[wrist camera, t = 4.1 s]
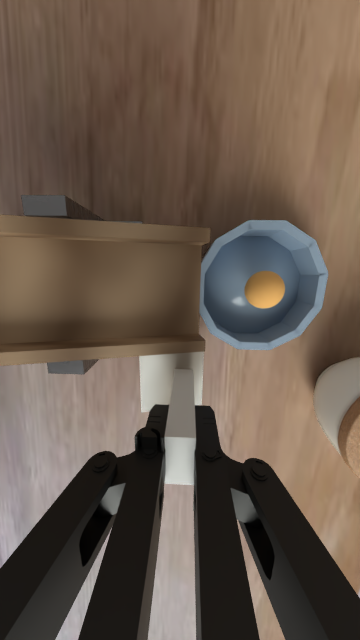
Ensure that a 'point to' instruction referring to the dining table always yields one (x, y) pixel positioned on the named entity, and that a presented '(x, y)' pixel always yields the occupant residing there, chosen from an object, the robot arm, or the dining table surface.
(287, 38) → the dining table surface
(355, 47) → the dining table surface
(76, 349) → the lever
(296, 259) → the bowl
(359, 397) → the lidded jar
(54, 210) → the pivot stand
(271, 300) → the ball
